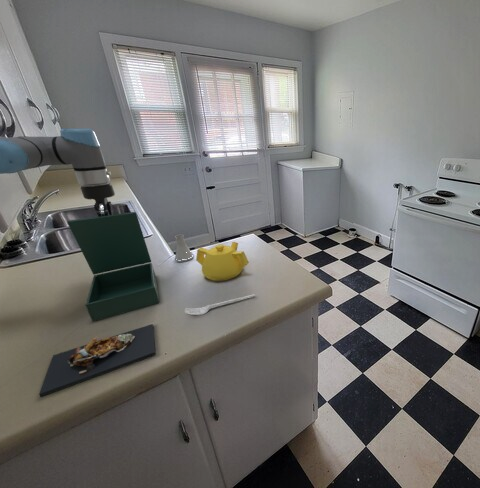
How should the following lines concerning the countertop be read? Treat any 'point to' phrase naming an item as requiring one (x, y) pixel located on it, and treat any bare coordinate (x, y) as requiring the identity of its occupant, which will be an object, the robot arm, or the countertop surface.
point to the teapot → (221, 262)
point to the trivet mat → (98, 361)
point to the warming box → (122, 291)
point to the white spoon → (205, 309)
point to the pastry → (98, 350)
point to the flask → (182, 249)
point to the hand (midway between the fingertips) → (119, 254)
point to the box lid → (111, 241)
